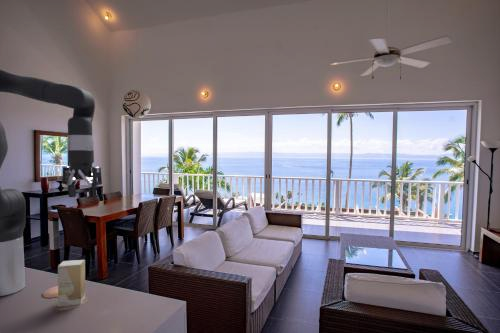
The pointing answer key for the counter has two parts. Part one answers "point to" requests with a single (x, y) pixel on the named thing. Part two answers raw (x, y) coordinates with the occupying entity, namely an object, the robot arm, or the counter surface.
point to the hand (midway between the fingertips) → (82, 197)
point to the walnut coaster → (68, 306)
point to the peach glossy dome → (51, 292)
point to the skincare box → (71, 282)
